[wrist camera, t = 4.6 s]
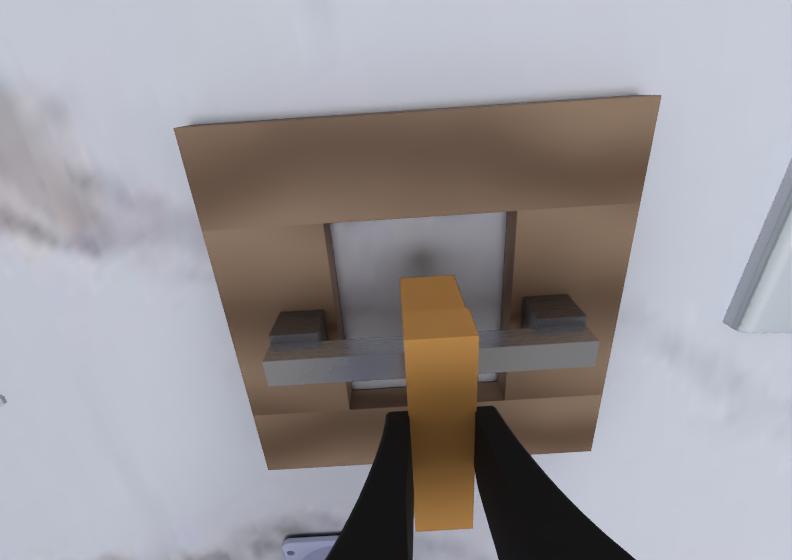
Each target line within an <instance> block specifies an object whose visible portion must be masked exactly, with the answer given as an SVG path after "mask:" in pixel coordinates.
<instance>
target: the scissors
mask: <svg viewBox="0 0 792 560" xmlns="http://www.w3.org/2000/svg"><path fill="white" fill-rule="evenodd" d="M6 402H7V401H6V399H5V397H4V396H2V395H0V406H2V405H4V404H5V403H6Z"/></svg>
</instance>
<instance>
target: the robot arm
mask: <svg viewBox="0 0 792 560" xmlns="http://www.w3.org/2000/svg"><path fill="white" fill-rule="evenodd" d="M474 468H475V474H476V479H477V485H478V489H479V493H480V497H481V500H482V503H483V507H484V510H485V514H486V517H487V521H488V524H489V528H490V531H491V535H492V538H493V541H494V545H495V548H496V552H497V555H498V559H499V560H636V559H634V558H633V557H632V556H631V555H630V554H629V553H627V552H626V551H625V550H624V549H623V548H621V547H620V546H619V545H618V544H617V543H615V542H614V541H613V540H612V539H611V538H610V537H608V536H607V535H606V534H605V533H604V532H603V531H602V530H601V529H599V528H598V527H597V526H596V525H595V524H594V523H593V522H592V521H591V520H590V519H589V518H588V517H586V516H585V515H584V514H583V513H582V512H581V511H580V510H579V509H578V508H577V507H576V506H575V505H574V504H573V503H572V502H571V501H570V500H569V499H568V498H567V497H566V496H565V494H564V493H563V492H562V491H561V490H560V489H559V488H558V487H557V486H556V485H555V484H554V483H553V481H552V480H551V479H550V478H549V477H548V476H547V475H546V474H545V472H544V471H543V470H542V469H541V468H540V467H539V465H538V464H537V463H536V462H535V460H534V459H533V458H532V457H531V456H530V454H529V453H528V452H527V451H526V449H525V448H524V447H523V445H522V444H521V443H520V442H519V440H518V439H517V438H516V436H515V435H514V433H513V432H512V431H511V429H510V428H509V427H508V425H507V424H506V422H505V421H504V419H503V418H502V416H501V415H500V413H499V412H498V410H497V409H496V408H495V407H494V406H478V407H477V412H475V442H474ZM413 519H414V482H413V466H412V450H411V434H410V419H409V416H408V411H395V412H389V413H388V414H386V419H385V425H384V430H383V434H382V437H381V441H380V444H379V447H378V450H377V453H376V456H375V459H374V462H373V464H372V467H371V470H370V472H369V475H368V477H367V480H366V482H365V484H364V487H363V489H362V491H361V493H360V496H359V498H358V500H357V502H356V504H355V506H354V508H353V510H352V512H351V514H350V516H349V518H348V520H347V522H346V524H345V526H344V528H343V530H342V531H341V533H340V535H337V536H320V537H303V538H288V539H286V540H284V541H283V545H282V549H283V553H284V556H285V560H413Z"/></svg>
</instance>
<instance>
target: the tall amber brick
mask: <svg viewBox="0 0 792 560" xmlns="http://www.w3.org/2000/svg"><path fill="white" fill-rule="evenodd" d="M400 290H401V306H402V322H403V338H404V354H405V370H406V386H407V402H408V416H409V419H410V434H411V450H412V466H413V482H414V514H415V530H416V532H418V531H436V530H454V529H471V528H473V506H474V476H475V468H474V442H475V412H477V385H478V354H479V334H478V331H477V329H476V326H475V323H474V320H473V318H472V315H471V312H470V310H469V308H465V305H464V302H463V299H462V296H461V293H460V291H459V288H458V285H457V282H456V279H455V276H454V275H445V276H429V277H413V278H400Z"/></svg>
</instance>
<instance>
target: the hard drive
mask: <svg viewBox="0 0 792 560" xmlns="http://www.w3.org/2000/svg"><path fill="white" fill-rule="evenodd" d="M723 322H724V323H725V324H727V325H728V326H729V327H731V328H733V329H735V330H737V331H740V332H747V333H792V160H791V162H790V164H789V167H788V169H787V171H786V174H785V176H784V178H783V181H782V183H781V186H780V188H779V190H778V193H777V195H776V197H775V200H774V202H773V204H772V207H771V209H770V211H769V214H768V216H767V219H766V221H765V223H764V226H763V228H762V230H761V233H760V235H759V237H758V240H757V242H756V244H755V247H754V249H753V251H752V254H751V256H750V259H749V261H748V263H747V266H746V268H745V270H744V273H743V275H742V277H741V280H740V282H739V284H738V287H737V289H736V292H735V294H734V296H733V299H732V301H731V303H730V306H729V308H728V310H727V313H726V315H725V318H724V320H723Z"/></svg>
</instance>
